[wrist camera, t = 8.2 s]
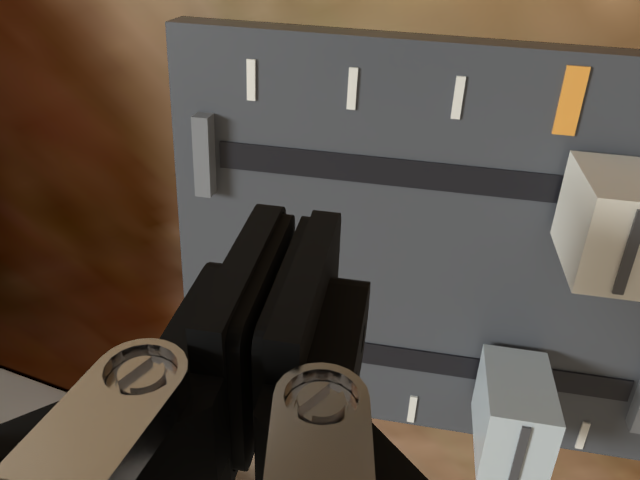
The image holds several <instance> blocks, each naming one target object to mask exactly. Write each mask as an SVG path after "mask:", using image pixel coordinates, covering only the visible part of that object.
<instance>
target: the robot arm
mask: <svg viewBox="0 0 640 480" xmlns="http://www.w3.org/2000/svg"><path fill="white" fill-rule="evenodd" d="M340 236H341V213H337V212H328V211H319V210H313V211H312V213H311V216H310V217H308V216H301V218H300V221H299V223H298V226H297V228H296V230H295V216H294V215H290V214H286V209H285V207H283V206H274V205H265V204H256V205H255V207H254V209H253V210H252V212H251V214H250V216H249V217H248V219H247V221H246V223H245V224H244V226H243V228H242V230H241V231H240V233H239V235H238V237H237V238H236V240H235V242H234V244H233V246H232V247H231V249H230V251H229V253H228V254H227V256H226V258H225V260H224V261H223V263H215V262H208V263H206V264H205V266H204V267H203V268H202V270H201V272H200V273H199V275H198V277H197V278H196V280H195V281H194V283H193V285H192V286H191V288H190V290H189V291H188V293H187V295H186V296H185V298H184V299H183V301H182V303H181V304H180V306H179V308H178V309H177V311H176V312H175V314H174V316H173V317H172V319H171V321H170V322H169V324H168V326H167V327H166V329H165V330H164V332H163V334H162V335H161V337H160V339H155V338H147V339H136V340H133V341H129V342H125V343H122V344H120V345H118V346H116V347H114V348H112V349H111V350H109V351H108V352H107V353H106V354H104V355H103V356H102V357H101V358H100V359H99V360H98V361H97V362H96V363H95V364H94V365H93V366H92V367H91V368H90V369H89V370H88V371H87V372H86V373H85V374H84V375H83V376H82V378H81V379H80V380H79V381H78V382H77V383H76V384H75V385H74V386H73V387H72V388H71V389H70V390H69V391H68V392H67V393H66V394H65V395H64V396H63V397H62V399H61V400H60V401H57V402H55V403H52V404H50V405H47V406H44V407H42V408H39V409H37V410H34V411H32V412H29V413H27V414H24V415H22V416H19V417H17V418H14V419H12V420H9V421H6V422H4V423H1V424H0V480H235V477H236V475H237V472H238V470H241V471H248V469H249V467H250V464H251V461H252V458H253V455H254V453H255V480H428V479H427V478H426V477H425V476H424V475H423V474H422V473H421V472H420V471H419V470H418V469H417V468H416V467H415V466H414V465H413V464H412V463H411V462H410V461H409V460H408V459H407V458H406V456H405V455H404V454H403V453H402V452H401V451H400V450H399V449H398V448H397V447H396V446H395V445H394V444H393V443H392V442H391V441H390V440H389V439H388V438H387V437H386V436H385V435H384V434H383V433H382V432H381V431H380V430H379V429H378V428H377V427H376V426H375V425H374V424H373V423H372V418H371V403H370V395H369V392H368V388H367V386H366V385H365V383H364V382H363V381H362V379H361V378H360V371H361V365H362V359H363V352H364V345H365V337H366V329H367V320H368V310H369V299H370V286H371V283H370V282H369V281H361V280H353V279H344V278H338V270H339V253H340Z"/></svg>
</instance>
